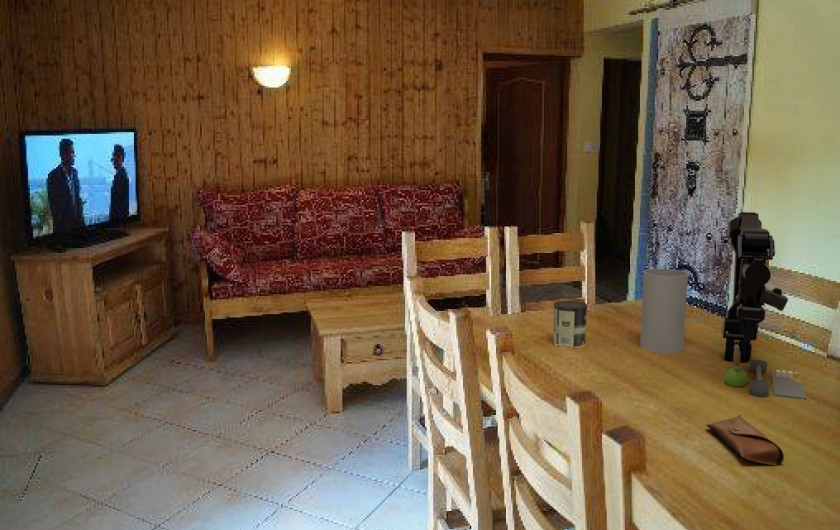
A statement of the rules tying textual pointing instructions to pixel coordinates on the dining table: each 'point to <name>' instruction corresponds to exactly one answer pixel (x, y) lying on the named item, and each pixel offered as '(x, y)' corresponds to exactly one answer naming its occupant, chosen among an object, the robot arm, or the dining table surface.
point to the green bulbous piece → (736, 371)
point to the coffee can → (570, 323)
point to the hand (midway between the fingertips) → (747, 338)
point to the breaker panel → (787, 385)
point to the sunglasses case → (748, 441)
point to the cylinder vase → (663, 310)
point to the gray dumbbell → (758, 379)
